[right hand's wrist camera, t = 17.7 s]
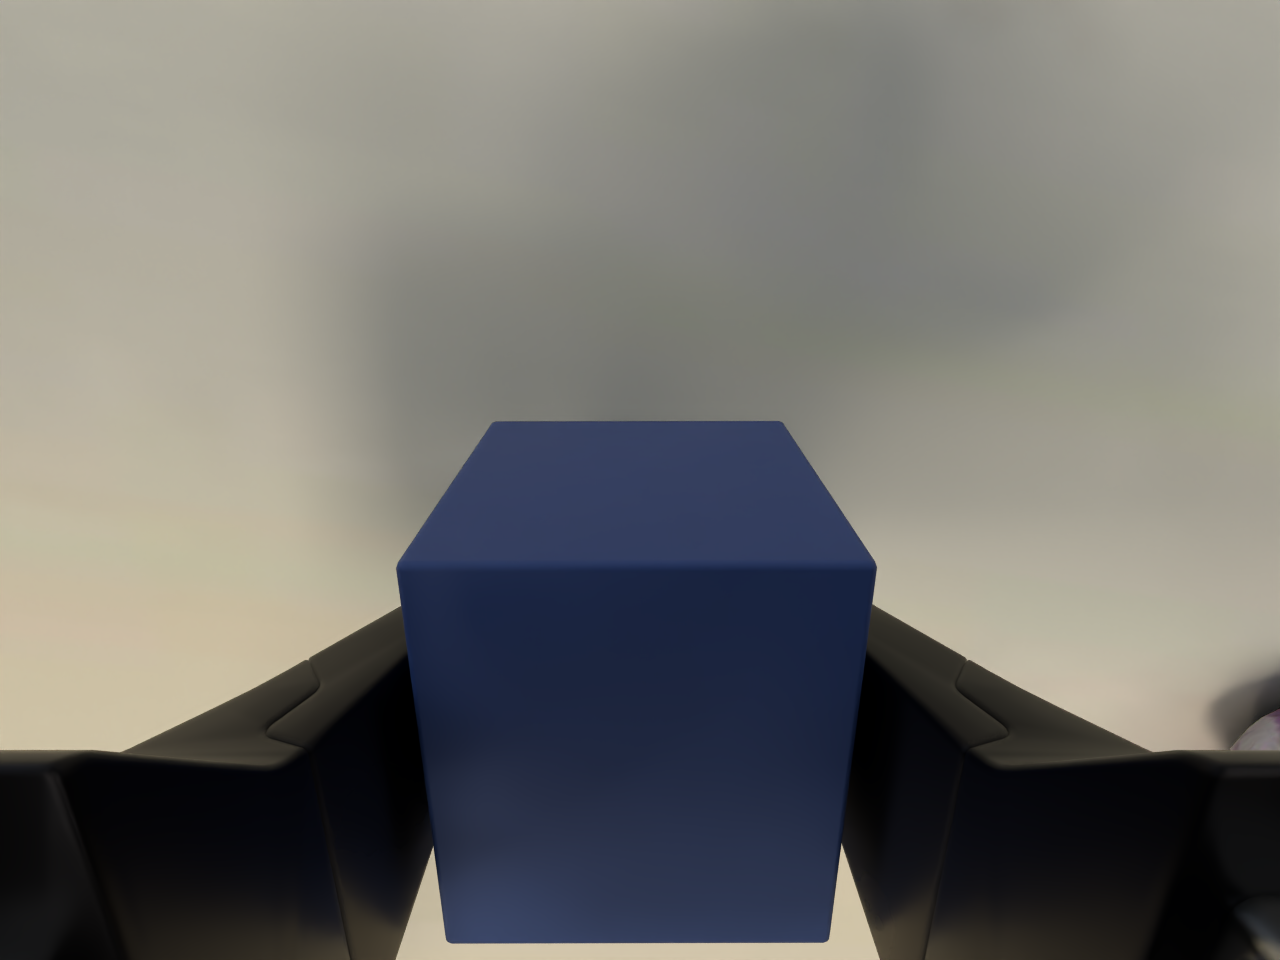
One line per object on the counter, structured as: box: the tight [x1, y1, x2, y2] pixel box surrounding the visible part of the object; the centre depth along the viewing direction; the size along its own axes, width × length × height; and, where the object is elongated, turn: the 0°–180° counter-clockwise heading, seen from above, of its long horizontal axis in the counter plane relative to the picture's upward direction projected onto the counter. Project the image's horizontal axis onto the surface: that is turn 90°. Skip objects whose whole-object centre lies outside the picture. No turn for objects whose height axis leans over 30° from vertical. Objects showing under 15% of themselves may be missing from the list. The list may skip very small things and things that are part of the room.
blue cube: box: [396, 421, 877, 943], centre depth 10 cm, size 5×5×5 cm
